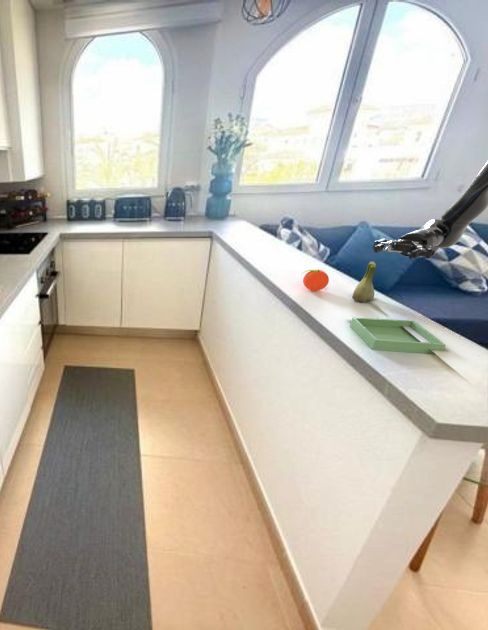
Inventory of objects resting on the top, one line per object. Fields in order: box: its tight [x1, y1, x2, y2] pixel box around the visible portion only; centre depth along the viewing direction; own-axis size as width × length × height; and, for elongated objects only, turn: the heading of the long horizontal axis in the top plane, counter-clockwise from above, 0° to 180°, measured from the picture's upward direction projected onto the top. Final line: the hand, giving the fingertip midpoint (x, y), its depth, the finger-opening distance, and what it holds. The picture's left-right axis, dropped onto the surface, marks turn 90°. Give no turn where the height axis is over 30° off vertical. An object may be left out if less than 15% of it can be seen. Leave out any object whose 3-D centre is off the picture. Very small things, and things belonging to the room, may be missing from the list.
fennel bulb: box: [351, 261, 378, 303], centre depth 102 cm, size 6×5×12 cm
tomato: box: [302, 269, 330, 292], centre depth 113 cm, size 8×7×7 cm
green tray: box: [349, 316, 447, 355], centre depth 84 cm, size 13×12×3 cm
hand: (393, 252), depth 104 cm, fingers open, 8 cm apart
